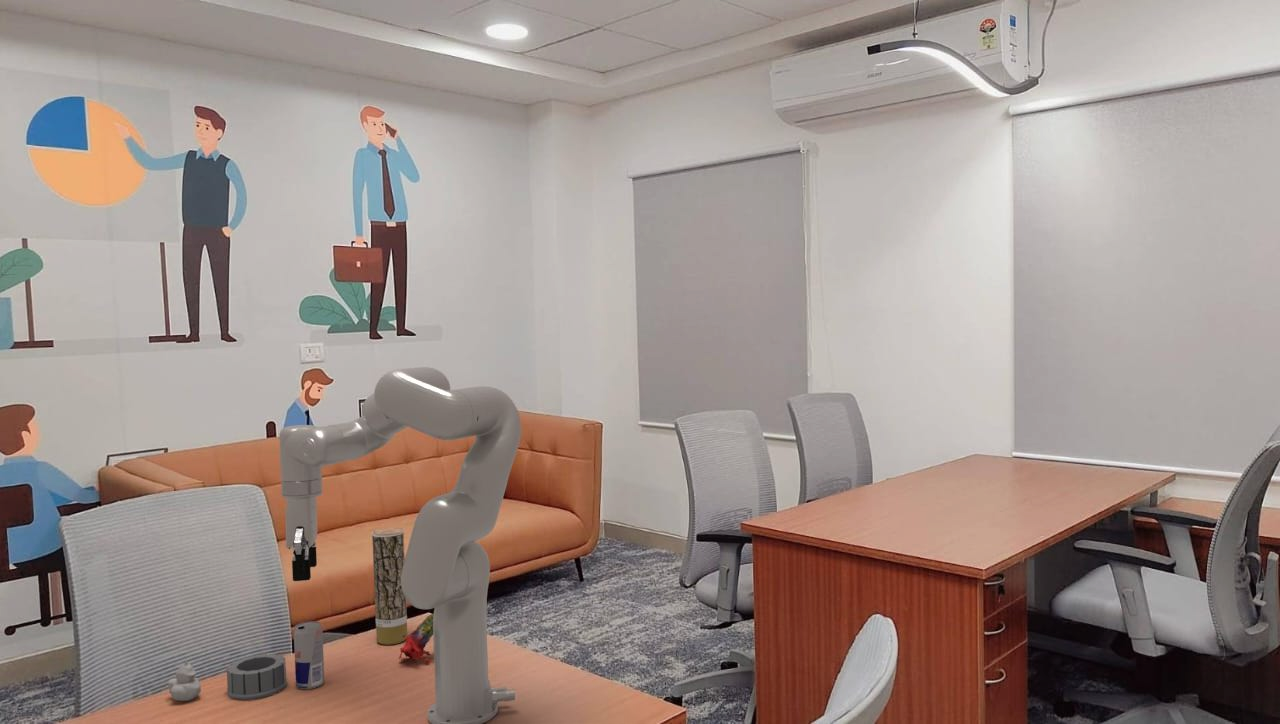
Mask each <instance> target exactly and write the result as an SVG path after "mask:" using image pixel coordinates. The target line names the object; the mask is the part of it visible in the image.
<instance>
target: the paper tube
mask: <svg viewBox="0 0 1280 724" xmlns="http://www.w3.org/2000/svg"><path fill="white" fill-rule="evenodd" d="M371 534H372V535H371V536H372V538H371V539H372V563H373V565H372V567H373V587H374V588H373V589H374V607H375V608H374V611H375V613H374V614H375V631H376V632H375V633H376V635H375V636H376V642H377V643H378V644H381V645H385V646H387V645H388V646H390V645H397V644H400V643H402V642H405V641H406V640H407V636H408V616H407V615H408V614H407V613H408V612H407V609H408V608H407V599H406V598H405V596H404V594H403V591H402V585H401V574H402V568H403V564H404V560H405V557H406V556H405V540H404V539H405V534H404V529H403V528H401V527H387V528H380V529H376V530H373V531H372V532H371ZM403 635H405V637H402V636H403Z"/></svg>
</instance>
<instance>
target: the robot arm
mask: <svg viewBox="0 0 1280 724" xmlns="http://www.w3.org/2000/svg"><path fill="white" fill-rule="evenodd" d="M515 404H516V403H514V401H513V400H512V398H511V397H510V396H508V394H506V393H505V392H504V391H503V390H501V389H498V388H496V387H492V386H473V387H466V388H465V387H464V388H457V389H451V385H450V381H449V379H448V378H447V376H446V375H445V374H444V373H443V372H442V371H440V370H438V369H435V368H433V367H428V366H427V367H426V366H425V367H424V366H423V367H410V368H400V369H399V368H398V369H397V368H396V369H394V370H393V369H392V370H391V371H388V372H387V373H385V374H383V375H382V377H380V378H379V380H378V381H377V383H376V385H375V388H374V392H373V393H372V394H371V395H369V396H368V397H367V398H366V399H365V400H364V402H363V404H362V416H360V417H358V418H357V419H354V420H352V421H349V422H344V423H343V422H342V423H336V424H330V425H325V426H319V427H318V426H316V425H313V424H310V425H309V424H296V425H289V426H285V427H283V428H281V430H280V432H279V435H278V437H279V440H278V441H279V459H280V484H281V485H280V486H281V487H280V489H281V490H280V491H281V498H283V499H286V506H285V547H286V549H287V550H291V548H292V560H291V566H292V567H291V570H292V571H291V573H292V581H293V582H301V581H309V580H311V577H312V574H311V568H315V567H317V564H318V562H317V561H318V560H317V558H318V557H317V546H316V540H317V537H318V503H317V502H318V501H317V500H318V499H317V497H318V496H320V495H323V477H322V473H323V472H322V467H327V466H331V465H335V464H339V463H345V462H350V461H354V460H357V459H358V460H359V459H361V458H363V457H365V456H367V455H370V454H371V453H373V452H374V451H377V450H379V449H380V448H382V447H384V446H385V445H387V444H388V443H389V442H391V440H393V438H394V436H395V435H396V434H397V433H399V432H401V431H403V430H404V429H406V428H410V429H413V430H415V431H417V432H420V433H422V434H424V435H427V436H429V437H432V438H434V439H436V440H437V439H438V440H442V441H455V440H461V439H464V438H465V439H466V438H469V437H470V438H471V437H475V440H474V442H473V443H472V445H471V447H469V450H467V453H466V454H465V456H464V458H463V461H462V464H461V467H460V471H459V475H458V478H457V481H456V484H455V486H454V488H453V489H452V490H451V491H449V492H447V493H443V494H440V495H438V496H435V497H433V498H432V499H430V500H428V501H427V502H425V504H424V505H423V506H422V507H421V509H420V510H419V512H418V514H417V515H416V518H415V520H414V524H413V526H412V527H413V528H412V531H411V534H410V538H409V543H408V546H407V549H406V553H405V556H404V557H405V560H404V564H403V568H402V574H401V585H402V591H403V594H404V596H405V598H406V602H408V603H409V604H410V605H411V606H413V607H414V608H416V609H418V610H419V609H420V610H431V609H434V610H433V614H434V616H433V635H432V636H433V661H434V663H433V664H434V666H433V667H434V686H435V687H434V688H435V689H434V690H435V693H434V694H435V702H434V703H432V704H431V705H430V707H428V708H427V719H428V722H429V723H431V724H484V723H487V722H488V721H490V720H492V719H493V718H494V717H495V716H496V715H497V713H498V711H499V703H500V702H511V701H512V702H513V701H515V699H516V694H515V689H513V688H512V689H507V688H508V687H507V686H506V685H505V686H499V687H494V686H491V681H490V679H489V657H488V656H489V655H488V623H487V605H488V604H487V602H488V601H487V599H488V598H487V597H488V589H489V585H490V583H489V582H490V577H491V576H490V574H491V573H490V572H491V564H490V558H489V556H488V553H487V551H486V549H485V548H484V547H483V546H482V545H481V544H479V543H478V541H479V540H481V539H483V538H486V537H487V536H488V535H489V534H490V533H491V532H493V530H494V528H495V526H496V523H497V522H498V521H497V520H498V518H499V513H500V509H501V506H502V502H503V499H504V496H505V491H506V489H507V485H508V481H509V477H510V473H511V471H512V466H513V464H514V461H515V459H516V458H515V457H516V455H517V452H518V449H519V446H520V441H521V437H522V421H521V417H520V413H519V411H518V408H517V406H516V405H515Z"/></svg>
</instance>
